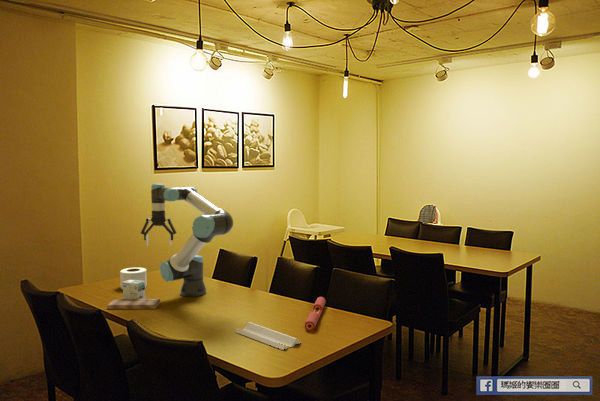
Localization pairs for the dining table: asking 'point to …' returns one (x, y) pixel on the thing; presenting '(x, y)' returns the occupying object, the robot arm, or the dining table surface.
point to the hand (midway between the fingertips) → (158, 245)
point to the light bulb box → (134, 289)
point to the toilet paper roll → (133, 275)
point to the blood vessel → (315, 314)
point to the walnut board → (134, 304)
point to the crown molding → (268, 336)
